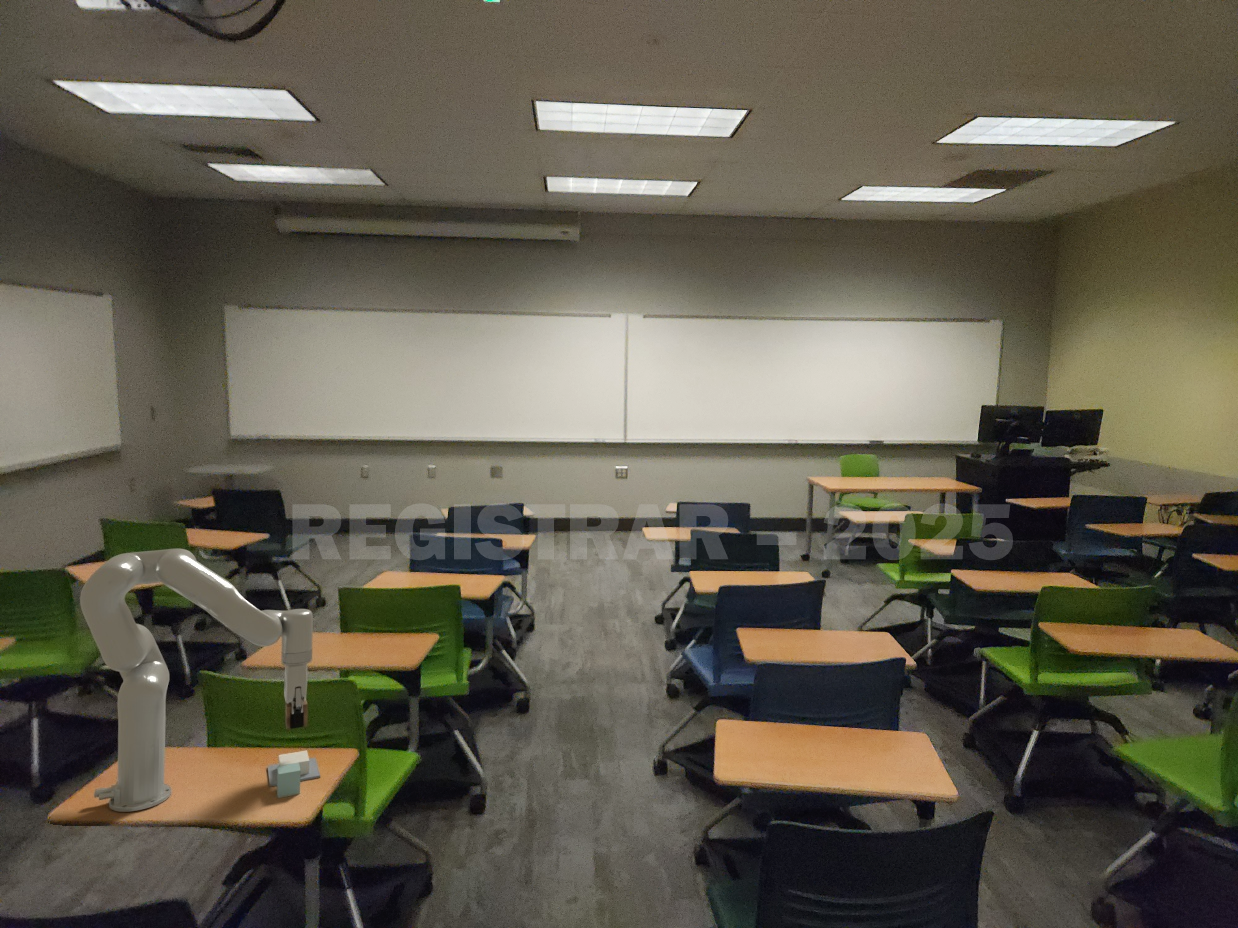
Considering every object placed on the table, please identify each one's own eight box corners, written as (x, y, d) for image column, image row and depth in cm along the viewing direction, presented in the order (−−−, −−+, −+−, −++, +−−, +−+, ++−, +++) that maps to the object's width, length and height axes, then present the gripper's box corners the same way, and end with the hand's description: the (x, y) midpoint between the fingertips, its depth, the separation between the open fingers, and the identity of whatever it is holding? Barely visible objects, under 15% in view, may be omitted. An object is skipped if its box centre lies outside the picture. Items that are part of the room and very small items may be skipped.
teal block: (277, 797, 173) (278, 774, 172) (276, 789, 177) (277, 765, 177) (299, 793, 175) (300, 770, 175) (298, 785, 179) (298, 762, 179)
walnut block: (286, 729, 183) (286, 706, 183) (285, 722, 187) (285, 700, 187) (307, 726, 185) (307, 703, 185) (305, 719, 189) (305, 697, 189)
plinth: (269, 786, 178) (270, 771, 178) (267, 767, 188) (267, 752, 188) (320, 777, 184) (320, 762, 184) (315, 759, 194) (315, 745, 194)
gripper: (279, 649, 191) (278, 715, 192) (283, 666, 176) (282, 737, 177) (309, 646, 195) (308, 710, 195) (315, 663, 180) (314, 732, 180)
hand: (295, 722), depth 186 cm, fingers closed on walnut block, 4 cm apart
